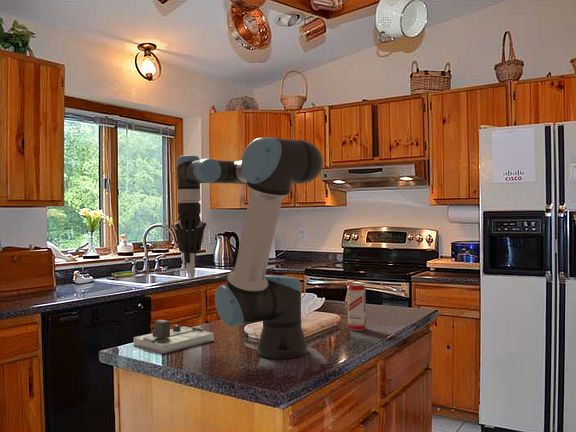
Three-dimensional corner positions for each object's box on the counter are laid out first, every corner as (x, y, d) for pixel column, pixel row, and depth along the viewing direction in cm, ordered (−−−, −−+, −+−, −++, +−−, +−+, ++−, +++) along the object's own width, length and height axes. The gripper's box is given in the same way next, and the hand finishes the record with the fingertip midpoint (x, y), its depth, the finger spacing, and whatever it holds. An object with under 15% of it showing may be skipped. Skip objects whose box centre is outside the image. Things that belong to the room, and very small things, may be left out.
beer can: (364, 332, 181) (363, 286, 181) (346, 330, 184) (345, 285, 183) (367, 328, 187) (366, 283, 187) (350, 327, 189) (349, 282, 189)
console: (213, 340, 173) (213, 328, 173) (162, 353, 158) (162, 340, 158) (184, 333, 184) (184, 322, 183) (133, 344, 169) (133, 332, 169)
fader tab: (170, 336, 167) (169, 320, 167) (162, 338, 165) (161, 322, 165) (162, 334, 170) (162, 319, 170) (154, 336, 168) (154, 320, 167)
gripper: (196, 202, 183) (198, 270, 183) (166, 202, 173) (167, 274, 173) (211, 202, 178) (212, 271, 178) (180, 202, 168) (182, 275, 168)
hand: (190, 272), depth 175 cm, fingers closed
